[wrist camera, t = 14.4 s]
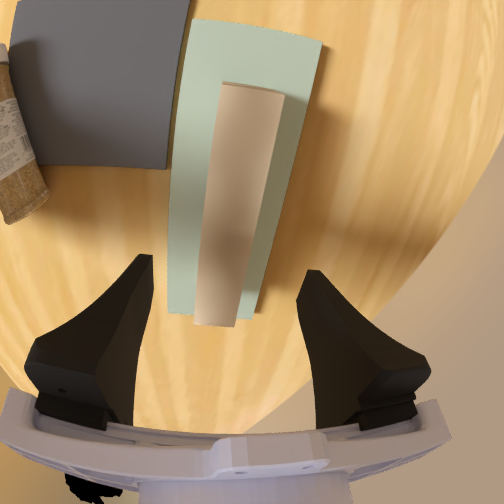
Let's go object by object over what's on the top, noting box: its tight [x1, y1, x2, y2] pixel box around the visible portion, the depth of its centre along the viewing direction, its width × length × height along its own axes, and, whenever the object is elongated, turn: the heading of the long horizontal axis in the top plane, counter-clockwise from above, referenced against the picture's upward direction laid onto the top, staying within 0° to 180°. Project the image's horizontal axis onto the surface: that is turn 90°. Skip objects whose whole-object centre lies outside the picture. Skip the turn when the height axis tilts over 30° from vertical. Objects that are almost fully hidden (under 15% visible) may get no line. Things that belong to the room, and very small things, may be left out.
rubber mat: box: [8, 0, 191, 170], centre depth 14 cm, size 14×14×1 cm
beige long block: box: [194, 81, 285, 327], centre depth 18 cm, size 3×16×4 cm, turn 169°
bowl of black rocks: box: [65, 473, 123, 504], centre depth 57 cm, size 20×20×19 cm
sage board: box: [167, 19, 323, 320], centre depth 21 cm, size 8×24×1 cm, turn 169°
